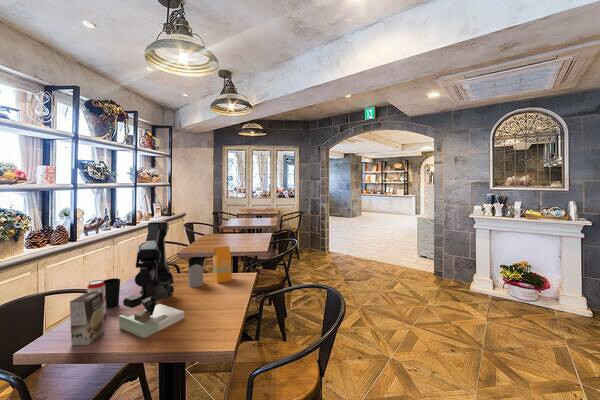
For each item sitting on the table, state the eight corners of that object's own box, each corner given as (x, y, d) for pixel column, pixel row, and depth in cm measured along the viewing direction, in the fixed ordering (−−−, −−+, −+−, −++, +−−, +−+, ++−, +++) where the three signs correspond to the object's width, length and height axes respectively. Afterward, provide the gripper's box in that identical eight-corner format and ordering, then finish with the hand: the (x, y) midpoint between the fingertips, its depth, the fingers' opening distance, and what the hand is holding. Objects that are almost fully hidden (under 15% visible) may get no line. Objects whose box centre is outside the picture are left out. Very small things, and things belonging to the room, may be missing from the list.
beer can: (87, 323, 118) (85, 285, 117) (90, 317, 124) (88, 280, 123) (105, 320, 121) (103, 283, 120) (107, 314, 127) (105, 278, 126)
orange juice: (231, 280, 171) (231, 247, 169) (217, 283, 166) (216, 249, 164) (227, 276, 177) (226, 244, 176) (212, 279, 172) (212, 246, 171)
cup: (111, 310, 131) (110, 284, 130) (97, 308, 132) (96, 283, 131) (125, 303, 138) (124, 278, 137) (111, 301, 140) (110, 277, 139)
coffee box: (89, 345, 103) (87, 301, 102) (70, 345, 102) (68, 302, 101) (105, 331, 112) (103, 291, 111) (87, 332, 111) (85, 292, 110)
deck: (119, 327, 115) (118, 315, 115) (159, 310, 131) (159, 299, 130) (144, 338, 107) (143, 325, 107) (184, 318, 123) (183, 306, 123)
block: (134, 321, 114) (134, 313, 114) (144, 317, 118) (143, 310, 118) (140, 323, 112) (140, 316, 112) (150, 319, 116) (149, 312, 116)
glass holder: (187, 288, 158) (187, 261, 157) (187, 279, 171) (187, 255, 170) (204, 286, 161) (203, 259, 160) (203, 278, 175) (202, 253, 174)
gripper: (139, 289, 105) (141, 330, 106) (182, 274, 121) (183, 310, 122) (121, 284, 110) (123, 323, 111) (164, 270, 127) (165, 305, 128)
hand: (150, 315), depth 118 cm, fingers closed
